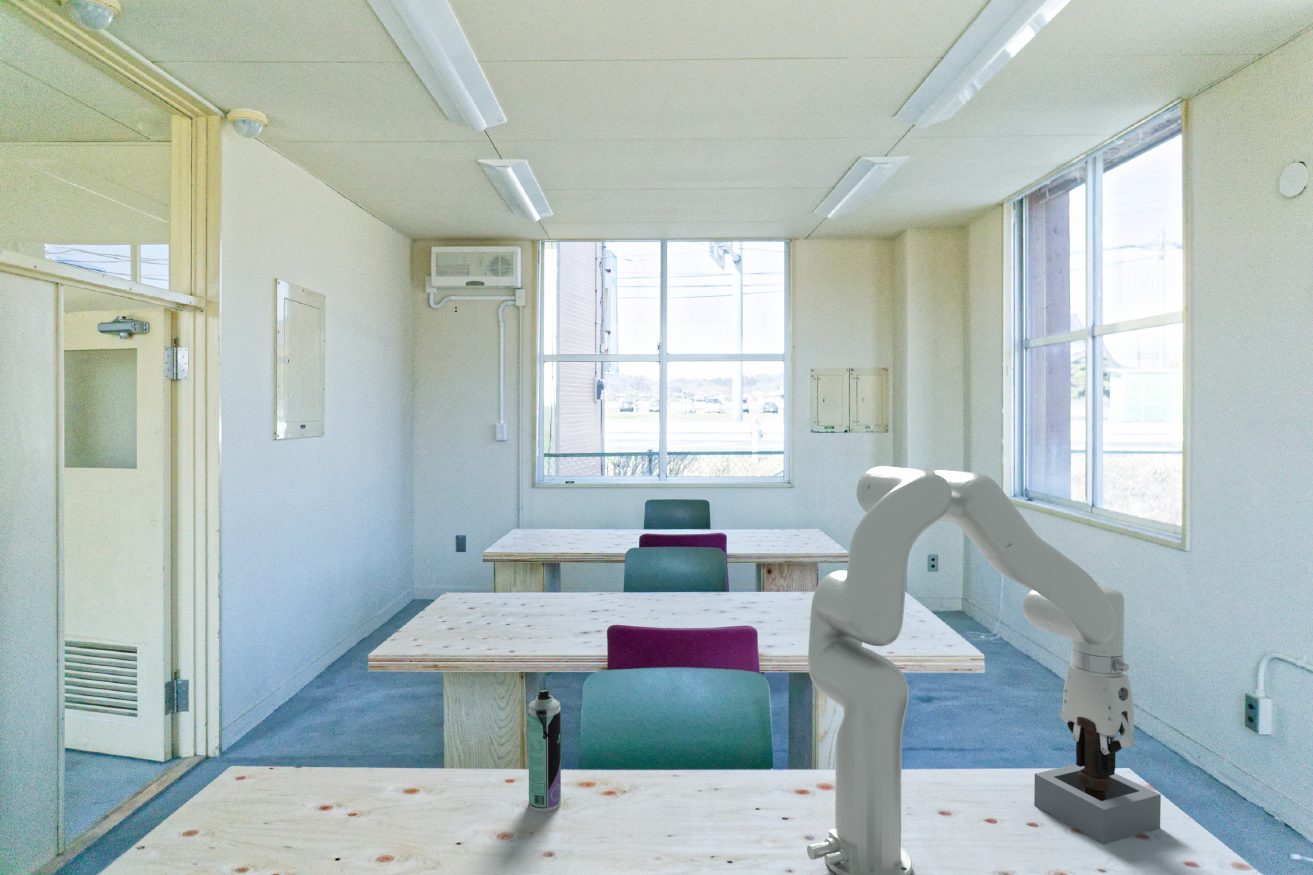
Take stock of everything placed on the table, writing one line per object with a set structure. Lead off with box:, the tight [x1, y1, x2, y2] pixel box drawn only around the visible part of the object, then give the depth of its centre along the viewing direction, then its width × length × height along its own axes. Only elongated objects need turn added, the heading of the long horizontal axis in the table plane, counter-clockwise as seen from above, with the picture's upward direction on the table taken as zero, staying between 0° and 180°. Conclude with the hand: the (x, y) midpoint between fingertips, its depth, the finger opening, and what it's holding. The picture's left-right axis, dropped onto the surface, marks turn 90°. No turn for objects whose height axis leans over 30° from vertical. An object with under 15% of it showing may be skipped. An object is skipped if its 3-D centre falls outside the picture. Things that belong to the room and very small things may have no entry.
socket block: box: [1033, 763, 1162, 845], centre depth 127 cm, size 13×13×6 cm
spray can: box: [528, 688, 562, 814], centre depth 131 cm, size 6×6×20 cm
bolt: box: [1077, 717, 1111, 801], centre depth 127 cm, size 6×5×15 cm
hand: (1095, 769), depth 127 cm, fingers closed on bolt, 3 cm apart
